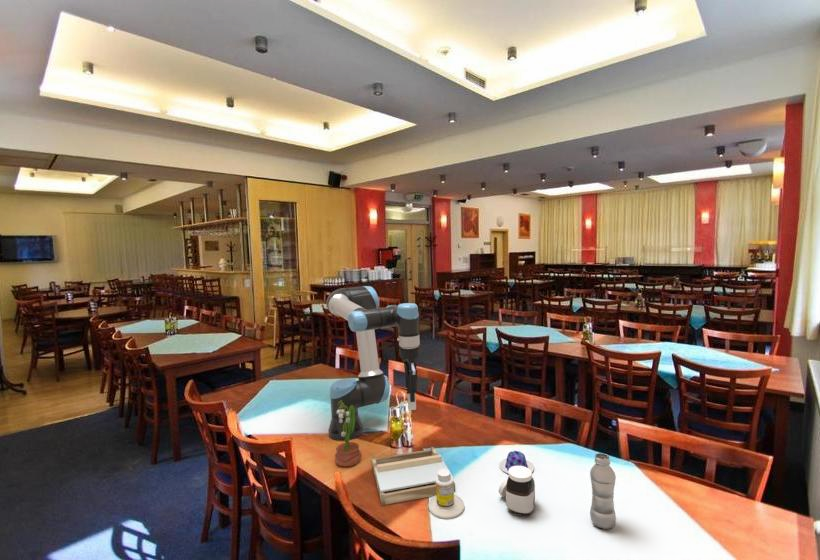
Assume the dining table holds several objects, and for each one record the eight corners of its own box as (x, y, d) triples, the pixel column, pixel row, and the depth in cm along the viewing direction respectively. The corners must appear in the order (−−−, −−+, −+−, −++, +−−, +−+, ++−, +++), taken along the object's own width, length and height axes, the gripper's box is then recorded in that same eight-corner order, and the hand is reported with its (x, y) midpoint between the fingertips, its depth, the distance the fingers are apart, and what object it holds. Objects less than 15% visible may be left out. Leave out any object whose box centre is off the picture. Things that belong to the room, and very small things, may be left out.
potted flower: (354, 472, 147) (350, 405, 145) (329, 470, 149) (324, 405, 147) (364, 455, 158) (361, 393, 157) (341, 454, 160) (337, 393, 159)
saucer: (424, 499, 129) (424, 496, 129) (457, 493, 131) (457, 490, 131) (434, 522, 118) (434, 518, 118) (469, 515, 120) (469, 511, 120)
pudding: (540, 475, 140) (539, 460, 139) (506, 479, 138) (506, 465, 138) (525, 457, 151) (525, 444, 151) (494, 461, 150) (494, 448, 149)
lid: (375, 471, 140) (374, 464, 140) (442, 460, 145) (442, 453, 145) (380, 492, 128) (380, 484, 128) (453, 479, 133) (453, 471, 133)
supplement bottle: (439, 497, 128) (437, 466, 127) (456, 500, 126) (454, 468, 125) (434, 508, 123) (432, 475, 122) (452, 511, 121) (450, 478, 120)
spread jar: (529, 522, 116) (528, 483, 115) (491, 510, 122) (490, 473, 121) (539, 499, 126) (538, 463, 125) (504, 489, 132) (503, 455, 131)
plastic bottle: (585, 518, 116) (584, 451, 115) (607, 515, 117) (607, 449, 116) (597, 533, 110) (596, 463, 109) (621, 531, 111) (620, 461, 109)
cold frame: (371, 463, 152) (371, 456, 152) (433, 453, 157) (433, 446, 157) (381, 505, 127) (381, 496, 127) (455, 491, 132) (454, 483, 132)
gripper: (396, 343, 151) (398, 403, 153) (402, 351, 138) (405, 417, 141) (415, 341, 153) (417, 401, 155) (423, 349, 140) (426, 415, 142)
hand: (412, 409), depth 148 cm, fingers closed
